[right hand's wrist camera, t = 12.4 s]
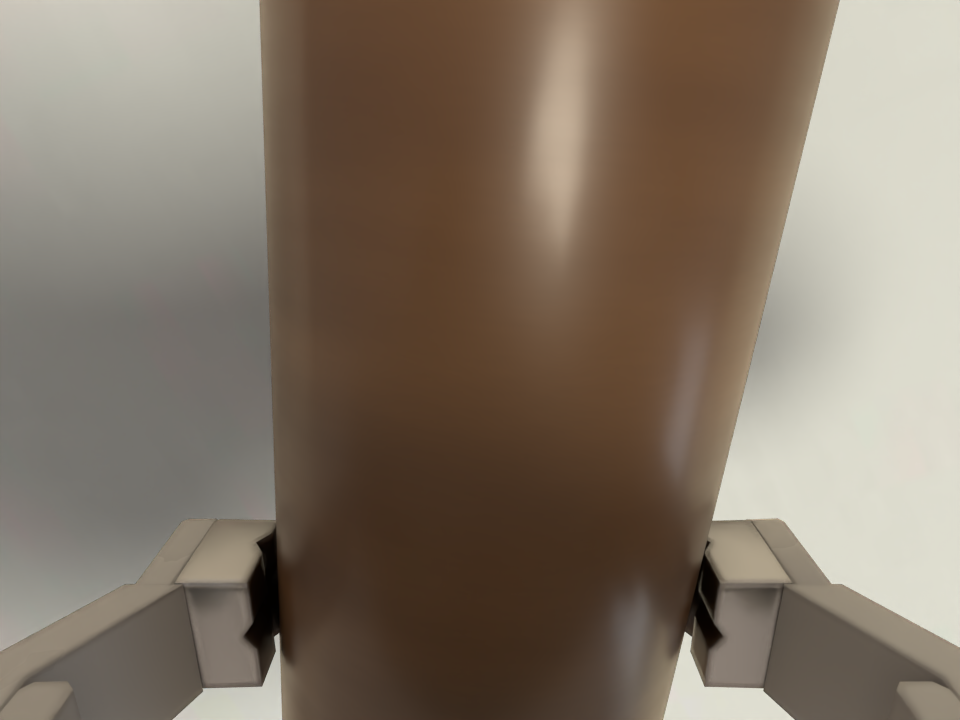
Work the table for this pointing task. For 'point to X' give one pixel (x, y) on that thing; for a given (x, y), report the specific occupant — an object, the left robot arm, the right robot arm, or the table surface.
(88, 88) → the table surface
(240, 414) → the table surface
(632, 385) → the rod
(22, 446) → the table surface
